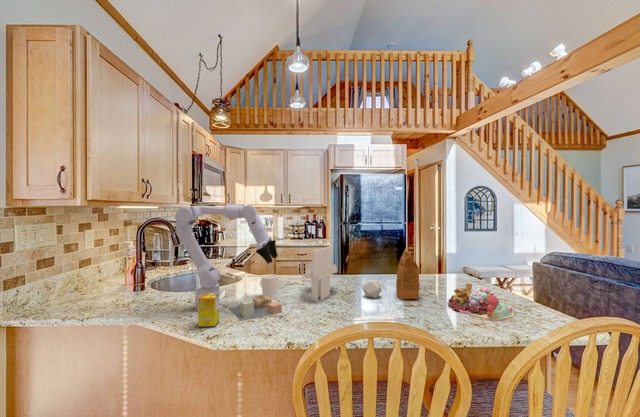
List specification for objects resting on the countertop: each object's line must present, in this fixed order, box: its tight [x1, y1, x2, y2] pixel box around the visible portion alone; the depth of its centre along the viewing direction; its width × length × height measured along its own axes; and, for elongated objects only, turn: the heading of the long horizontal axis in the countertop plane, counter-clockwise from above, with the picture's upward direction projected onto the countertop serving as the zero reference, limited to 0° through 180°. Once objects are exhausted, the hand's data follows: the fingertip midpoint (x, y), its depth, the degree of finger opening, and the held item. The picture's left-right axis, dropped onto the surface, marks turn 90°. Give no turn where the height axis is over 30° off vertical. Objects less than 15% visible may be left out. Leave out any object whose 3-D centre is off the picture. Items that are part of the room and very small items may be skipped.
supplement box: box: [197, 292, 220, 329], centre depth 113 cm, size 6×6×11 cm
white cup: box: [260, 273, 279, 300], centre depth 146 cm, size 8×8×10 cm
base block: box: [252, 295, 272, 309], centre depth 134 cm, size 6×6×3 cm
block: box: [267, 301, 282, 315], centre depth 126 cm, size 4×4×3 cm
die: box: [361, 279, 382, 299], centre depth 147 cm, size 8×9×10 cm
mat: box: [228, 305, 283, 322], centre depth 128 cm, size 17×17×1 cm
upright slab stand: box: [304, 243, 338, 303], centre depth 150 cm, size 28×21×23 cm
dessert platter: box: [447, 282, 515, 322], centre depth 131 cm, size 25×24×9 cm
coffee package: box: [395, 248, 421, 301], centre depth 147 cm, size 10×12×22 cm
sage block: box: [240, 299, 254, 317], centre depth 123 cm, size 4×4×5 cm
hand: (273, 259), depth 133 cm, fingers open, 7 cm apart
